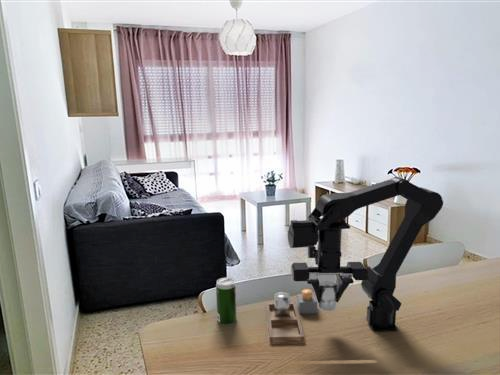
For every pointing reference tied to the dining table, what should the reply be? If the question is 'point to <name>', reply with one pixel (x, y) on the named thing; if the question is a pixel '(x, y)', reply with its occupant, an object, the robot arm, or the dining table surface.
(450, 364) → the dining table surface
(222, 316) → the green soda can
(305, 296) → the button
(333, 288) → the billet
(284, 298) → the seated billet
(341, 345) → the dining table surface
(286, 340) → the pallet
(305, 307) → the grey square block
